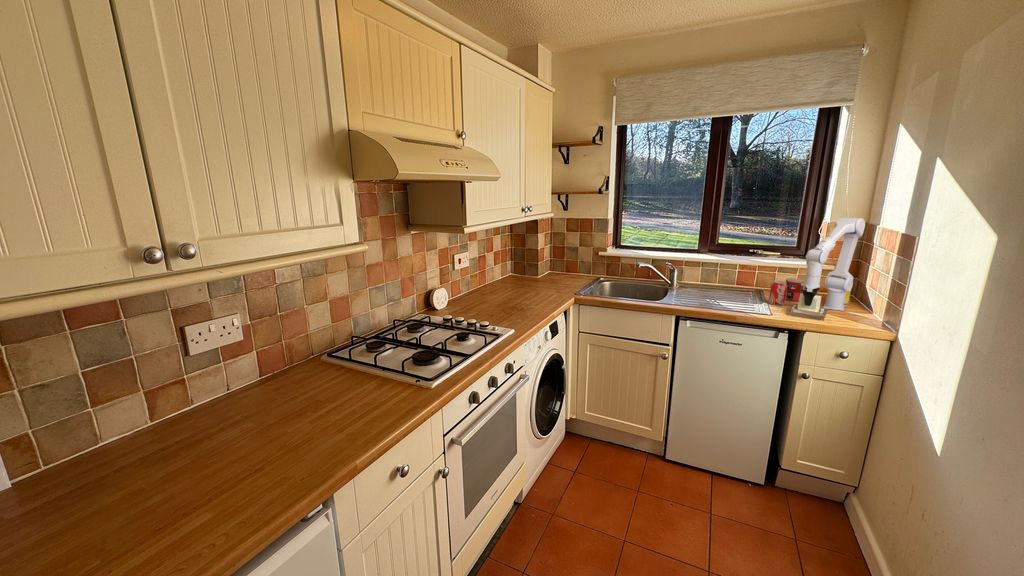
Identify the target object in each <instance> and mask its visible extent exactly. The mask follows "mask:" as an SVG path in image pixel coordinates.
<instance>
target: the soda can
mask: <svg viewBox="0 0 1024 576" xmlns="http://www.w3.org/2000/svg"><path fill="white" fill-rule="evenodd" d="M787 287H788V286H787V282H786V280H785V281H784V280H773V282H772V283H771V287H770V291H769V298H768V300H769V301H768V303H769V304H770V305H771V306H775V307H782V306H784V305H785V304H786V301H787V300H786V295H787Z"/></svg>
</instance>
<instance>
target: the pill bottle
mask: <svg viewBox="0 0 1024 576" xmlns="http://www.w3.org/2000/svg"><path fill="white" fill-rule="evenodd" d="M851 293H852V289H851V290H849V291H848V292H846V296H845V301H844V306H845V307H847V306H849V303H850V299H851Z"/></svg>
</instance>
